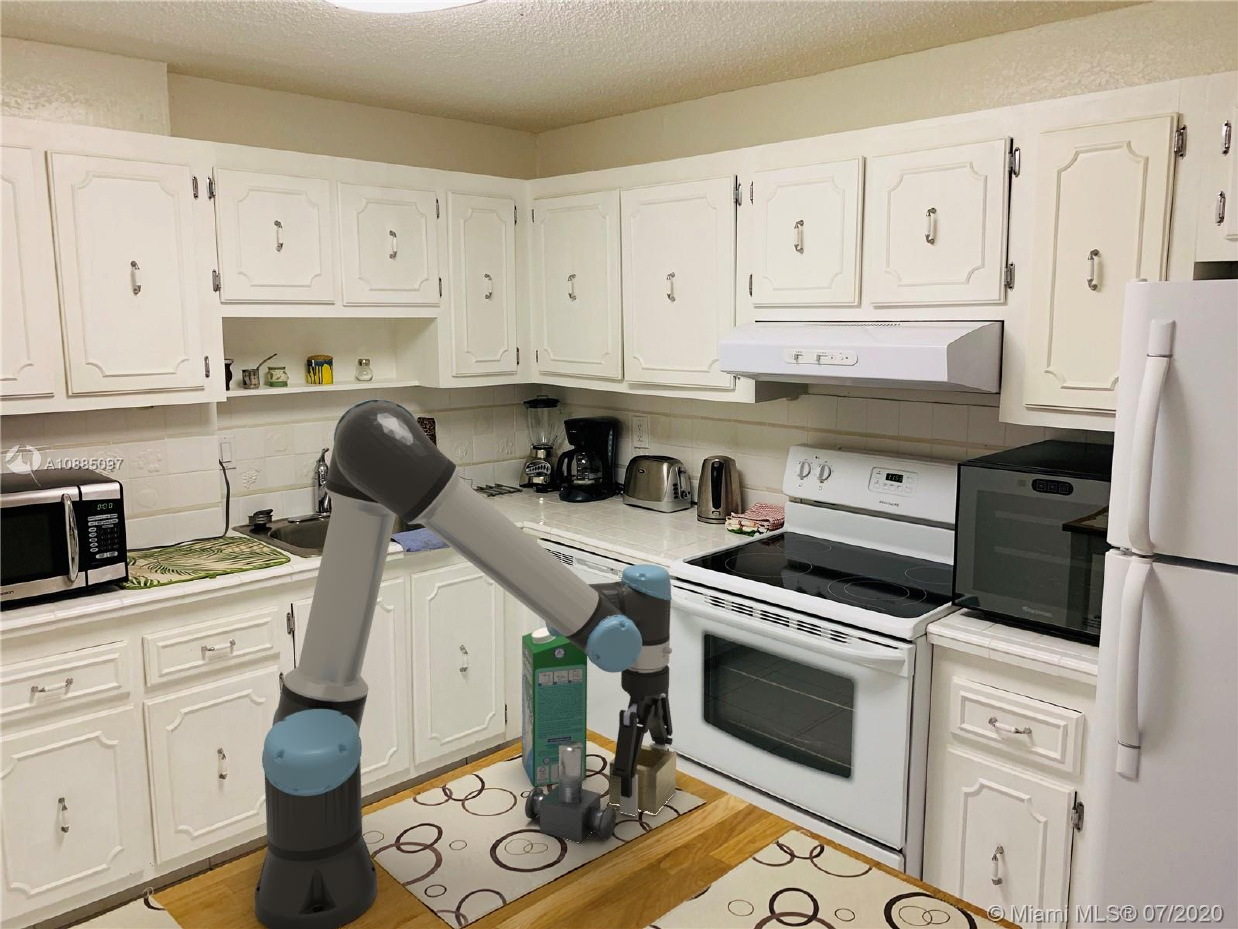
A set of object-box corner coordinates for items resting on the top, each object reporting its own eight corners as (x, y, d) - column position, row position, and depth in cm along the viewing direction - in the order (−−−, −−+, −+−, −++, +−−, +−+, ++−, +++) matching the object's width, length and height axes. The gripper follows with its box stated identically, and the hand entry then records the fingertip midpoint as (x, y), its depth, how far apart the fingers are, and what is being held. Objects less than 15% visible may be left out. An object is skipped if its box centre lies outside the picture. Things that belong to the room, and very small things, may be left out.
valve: (522, 827, 137) (522, 745, 135) (542, 809, 143) (543, 729, 141) (599, 849, 132) (601, 763, 130) (618, 829, 137) (619, 747, 135)
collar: (609, 804, 144) (609, 762, 143) (630, 782, 151) (631, 742, 150) (655, 816, 141) (656, 773, 140) (675, 793, 148) (676, 752, 147)
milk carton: (521, 762, 158) (521, 622, 154) (572, 756, 161) (573, 618, 157) (532, 787, 149) (533, 639, 146) (586, 780, 152) (587, 634, 149)
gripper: (636, 694, 131) (634, 838, 134) (694, 646, 152) (691, 772, 155) (590, 685, 134) (589, 826, 137) (652, 639, 155) (650, 763, 158)
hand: (643, 797), depth 146 cm, fingers open, 10 cm apart
